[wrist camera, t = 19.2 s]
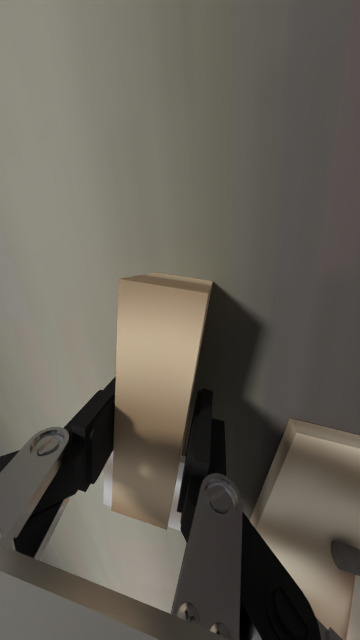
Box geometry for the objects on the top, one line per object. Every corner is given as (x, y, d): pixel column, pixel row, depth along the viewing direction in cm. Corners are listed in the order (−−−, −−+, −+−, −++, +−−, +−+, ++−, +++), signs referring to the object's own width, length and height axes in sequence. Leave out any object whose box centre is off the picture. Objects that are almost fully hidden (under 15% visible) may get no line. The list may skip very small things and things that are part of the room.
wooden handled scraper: (111, 265, 11) (52, 268, 7) (264, 289, 9) (293, 307, 6) (107, 497, 16) (73, 567, 13) (200, 529, 15) (194, 616, 12)
